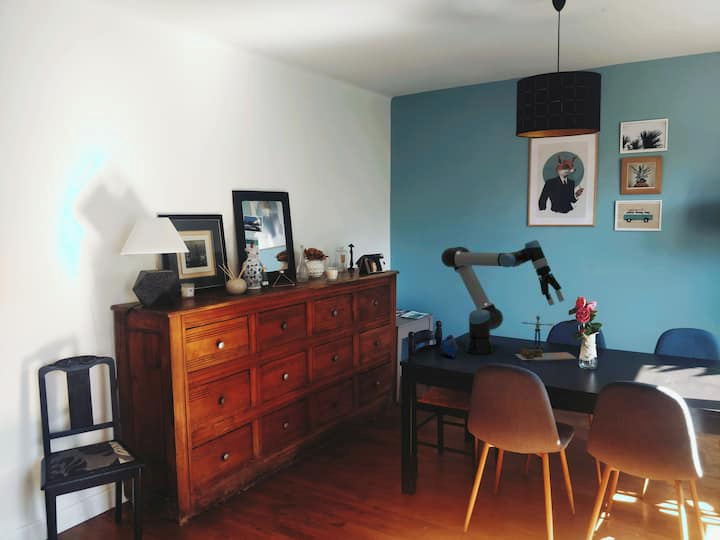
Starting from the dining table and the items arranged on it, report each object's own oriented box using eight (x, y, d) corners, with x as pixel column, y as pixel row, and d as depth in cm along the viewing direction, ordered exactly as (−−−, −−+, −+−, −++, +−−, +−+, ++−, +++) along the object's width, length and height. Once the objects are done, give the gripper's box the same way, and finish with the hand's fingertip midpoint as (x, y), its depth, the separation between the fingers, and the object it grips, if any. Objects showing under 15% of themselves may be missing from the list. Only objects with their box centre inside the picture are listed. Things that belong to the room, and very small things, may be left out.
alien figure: (556, 348, 329) (557, 315, 327) (555, 350, 325) (555, 317, 323) (521, 344, 339) (521, 313, 337) (519, 347, 334) (520, 314, 332)
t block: (527, 359, 305) (527, 352, 305) (520, 354, 315) (521, 348, 315) (544, 358, 306) (544, 352, 305) (537, 353, 315) (537, 347, 315)
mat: (522, 361, 304) (522, 360, 304) (514, 355, 316) (514, 354, 316) (576, 358, 306) (576, 357, 305) (567, 353, 317) (567, 352, 317)
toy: (456, 352, 326) (460, 358, 311) (439, 353, 326) (442, 360, 311) (455, 333, 325) (459, 339, 310) (438, 335, 325) (441, 340, 310)
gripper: (538, 267, 299) (554, 304, 296) (556, 262, 318) (572, 297, 314) (526, 272, 304) (541, 309, 301) (545, 267, 323) (559, 301, 319)
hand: (557, 303), depth 307 cm, fingers open, 13 cm apart
